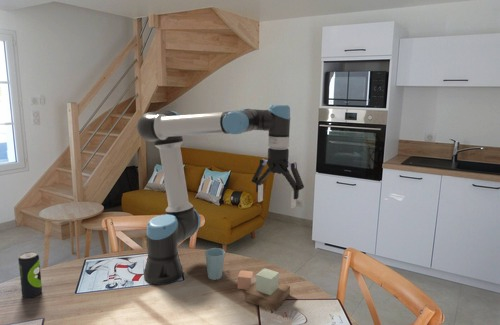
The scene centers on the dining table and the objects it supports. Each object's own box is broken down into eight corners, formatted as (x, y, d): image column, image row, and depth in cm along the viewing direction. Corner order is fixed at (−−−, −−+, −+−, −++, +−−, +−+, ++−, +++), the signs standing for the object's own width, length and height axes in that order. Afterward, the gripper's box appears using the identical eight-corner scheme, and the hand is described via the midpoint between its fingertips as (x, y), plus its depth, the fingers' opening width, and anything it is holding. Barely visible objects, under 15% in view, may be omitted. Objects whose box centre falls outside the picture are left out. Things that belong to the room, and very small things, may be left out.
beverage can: (19, 293, 134) (15, 254, 131) (38, 287, 138) (35, 249, 135) (25, 300, 129) (21, 260, 127) (44, 293, 134) (41, 254, 131)
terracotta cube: (237, 288, 140) (237, 276, 140) (240, 282, 145) (240, 270, 144) (250, 290, 140) (250, 278, 139) (252, 283, 144) (253, 271, 144)
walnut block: (244, 302, 133) (245, 291, 132) (260, 287, 143) (260, 277, 142) (275, 312, 127) (275, 301, 126) (289, 296, 137) (290, 286, 136)
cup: (223, 271, 154) (223, 247, 152) (225, 280, 146) (226, 255, 144) (205, 272, 152) (204, 248, 150) (206, 282, 145) (206, 256, 143)
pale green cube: (255, 290, 133) (256, 274, 132) (263, 283, 138) (264, 268, 137) (270, 295, 130) (271, 279, 129) (278, 288, 135) (279, 272, 134)
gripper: (243, 145, 138) (242, 201, 142) (307, 152, 126) (304, 212, 130) (253, 143, 145) (252, 196, 149) (314, 149, 133) (311, 207, 137)
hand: (276, 204), depth 139 cm, fingers open, 13 cm apart
